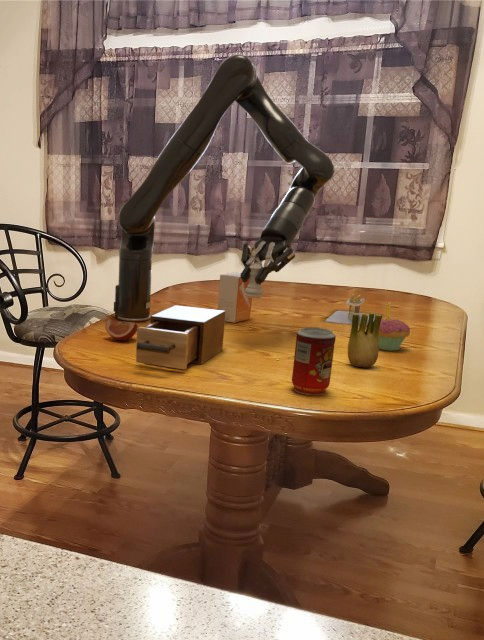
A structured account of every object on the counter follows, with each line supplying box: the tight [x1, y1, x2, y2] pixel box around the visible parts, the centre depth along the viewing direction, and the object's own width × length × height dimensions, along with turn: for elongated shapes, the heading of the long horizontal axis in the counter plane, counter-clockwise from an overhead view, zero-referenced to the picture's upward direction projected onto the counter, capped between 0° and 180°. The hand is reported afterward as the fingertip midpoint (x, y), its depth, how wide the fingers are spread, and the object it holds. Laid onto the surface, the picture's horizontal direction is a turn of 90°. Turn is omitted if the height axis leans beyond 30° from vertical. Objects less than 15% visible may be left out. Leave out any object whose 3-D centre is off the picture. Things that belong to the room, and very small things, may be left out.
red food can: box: [291, 326, 336, 396], centre depth 133 cm, size 7×7×12 cm
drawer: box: [135, 320, 201, 370], centre depth 150 cm, size 18×11×8 cm, turn 149°
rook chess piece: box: [245, 262, 264, 299], centre depth 164 cm, size 4×4×8 cm
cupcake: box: [379, 299, 411, 352], centre depth 164 cm, size 9×8×12 cm
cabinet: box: [150, 304, 226, 365], centre depth 160 cm, size 15×13×10 cm
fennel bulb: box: [347, 311, 383, 369], centre depth 150 cm, size 6×5×12 cm
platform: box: [325, 293, 377, 327], centre depth 198 cm, size 12×18×7 cm, turn 148°
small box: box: [217, 271, 253, 323], centre depth 195 cm, size 8×6×13 cm
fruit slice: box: [104, 318, 139, 342], centre depth 173 cm, size 8×7×5 cm
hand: (250, 281), depth 162 cm, fingers closed on rook chess piece, 3 cm apart
